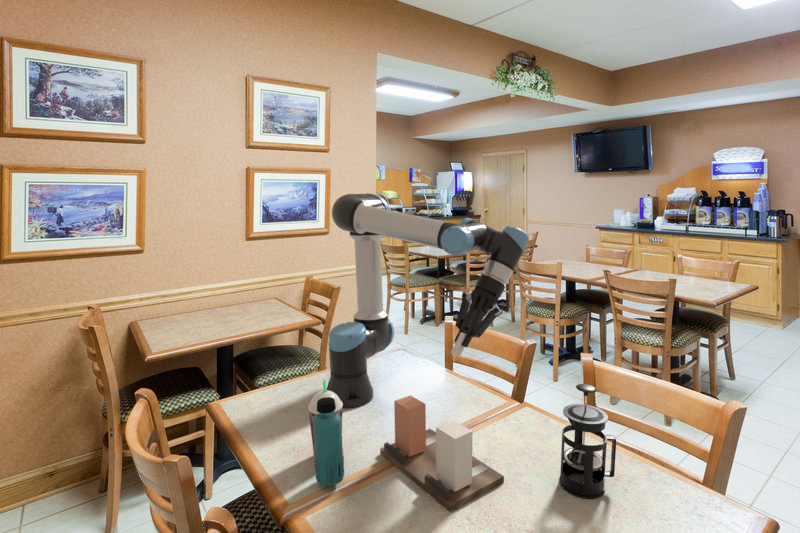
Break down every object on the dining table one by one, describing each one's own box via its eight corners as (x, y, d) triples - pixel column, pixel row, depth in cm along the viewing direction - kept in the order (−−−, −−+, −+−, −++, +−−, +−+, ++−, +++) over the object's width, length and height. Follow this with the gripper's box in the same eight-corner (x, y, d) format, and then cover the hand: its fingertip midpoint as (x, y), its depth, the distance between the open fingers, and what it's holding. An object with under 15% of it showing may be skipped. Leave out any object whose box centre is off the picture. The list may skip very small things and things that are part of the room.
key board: (429, 433, 121) (429, 421, 120) (503, 482, 100) (504, 467, 99) (380, 454, 112) (380, 441, 111) (450, 512, 91) (450, 496, 90)
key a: (453, 469, 102) (453, 420, 100) (472, 482, 97) (472, 431, 95) (436, 477, 99) (436, 427, 97) (454, 492, 94) (454, 438, 92)
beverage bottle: (342, 493, 97) (339, 406, 94) (312, 493, 97) (307, 407, 94) (346, 474, 104) (343, 393, 101) (318, 474, 104) (314, 393, 101)
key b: (411, 439, 114) (410, 395, 113) (425, 449, 110) (425, 403, 108) (395, 446, 112) (394, 400, 110) (409, 457, 107) (408, 409, 105)
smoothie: (350, 451, 113) (347, 376, 110) (335, 470, 106) (331, 389, 102) (321, 445, 116) (317, 372, 113) (304, 463, 108) (299, 385, 105)
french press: (560, 497, 95) (565, 394, 91) (552, 470, 104) (555, 376, 100) (619, 501, 93) (626, 397, 89) (605, 474, 102) (611, 378, 99)
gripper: (518, 291, 122) (479, 368, 121) (481, 277, 132) (444, 348, 130) (507, 282, 117) (466, 363, 116) (469, 267, 126) (430, 342, 125)
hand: (454, 355), depth 123 cm, fingers closed
